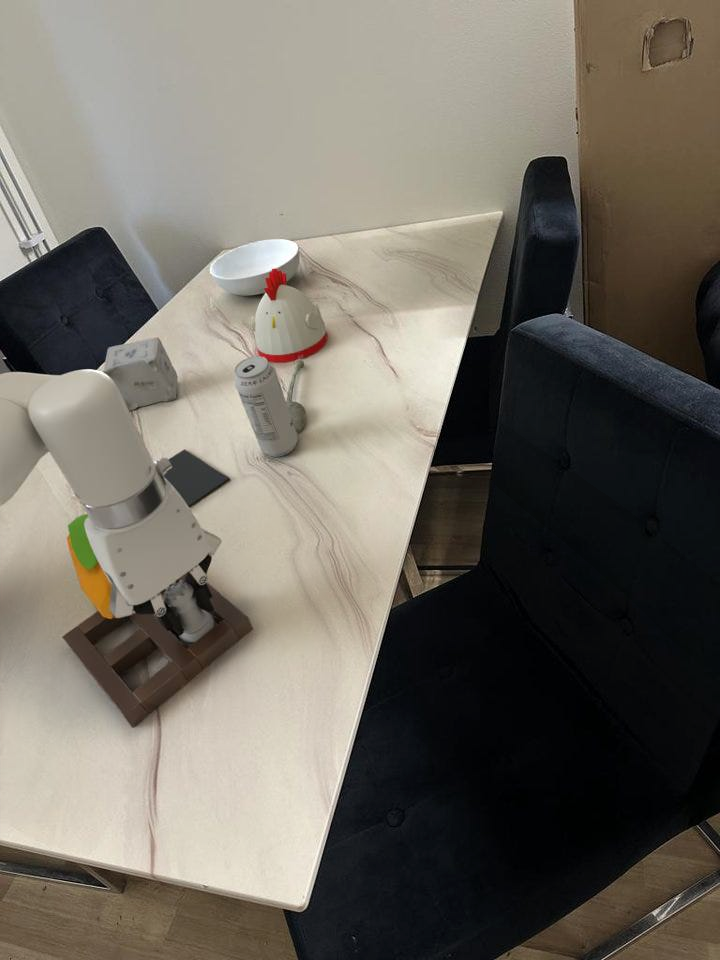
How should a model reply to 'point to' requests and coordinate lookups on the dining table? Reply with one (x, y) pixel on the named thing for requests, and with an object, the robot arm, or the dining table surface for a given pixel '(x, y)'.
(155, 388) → the grey block
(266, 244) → the serving bowl
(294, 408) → the soupspoon
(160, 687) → the window frame
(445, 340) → the dining table surface
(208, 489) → the coaster
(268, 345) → the kitchen timer
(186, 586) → the rook chess piece
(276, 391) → the energy drink can
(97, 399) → the robot arm
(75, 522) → the corn
